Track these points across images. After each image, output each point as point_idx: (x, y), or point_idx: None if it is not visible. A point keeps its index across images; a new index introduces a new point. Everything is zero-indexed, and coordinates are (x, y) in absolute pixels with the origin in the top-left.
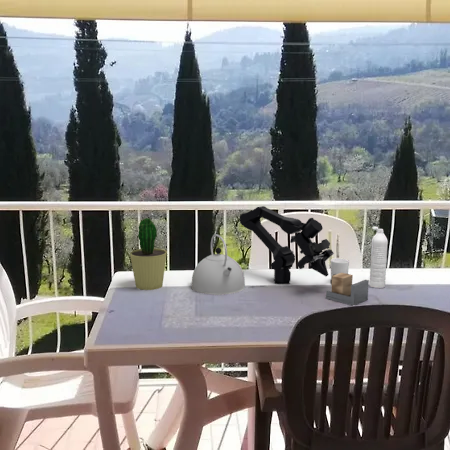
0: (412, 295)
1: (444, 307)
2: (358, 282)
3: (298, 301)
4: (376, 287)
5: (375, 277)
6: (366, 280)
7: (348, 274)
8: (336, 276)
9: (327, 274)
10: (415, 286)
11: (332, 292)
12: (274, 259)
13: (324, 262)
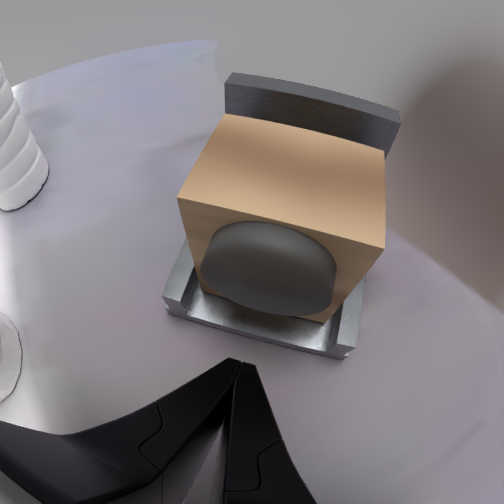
0: (118, 85)
1: (204, 40)
2: (319, 98)
3: (466, 456)
4: (47, 174)
5: (23, 146)
6: (244, 77)
7: (224, 136)
8: (367, 206)
9: (247, 364)
10: (30, 108)
11: (360, 294)
12: None
13: (94, 449)
